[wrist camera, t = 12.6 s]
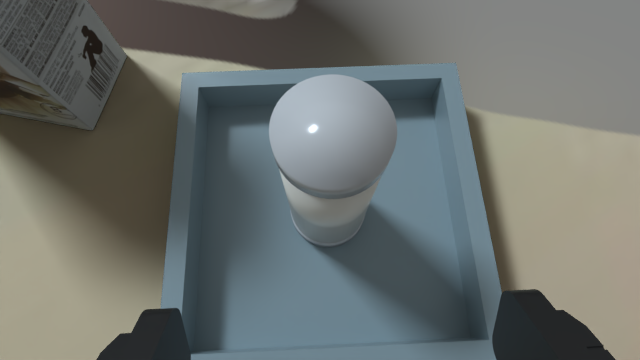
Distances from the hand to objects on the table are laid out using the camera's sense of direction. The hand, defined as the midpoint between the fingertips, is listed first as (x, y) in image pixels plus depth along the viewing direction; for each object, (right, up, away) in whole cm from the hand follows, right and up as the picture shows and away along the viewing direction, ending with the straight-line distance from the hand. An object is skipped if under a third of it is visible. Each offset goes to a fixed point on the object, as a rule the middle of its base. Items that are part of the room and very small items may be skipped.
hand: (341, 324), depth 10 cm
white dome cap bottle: (0, +2, +12) cm, 12 cm away
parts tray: (0, +2, +13) cm, 13 cm away
